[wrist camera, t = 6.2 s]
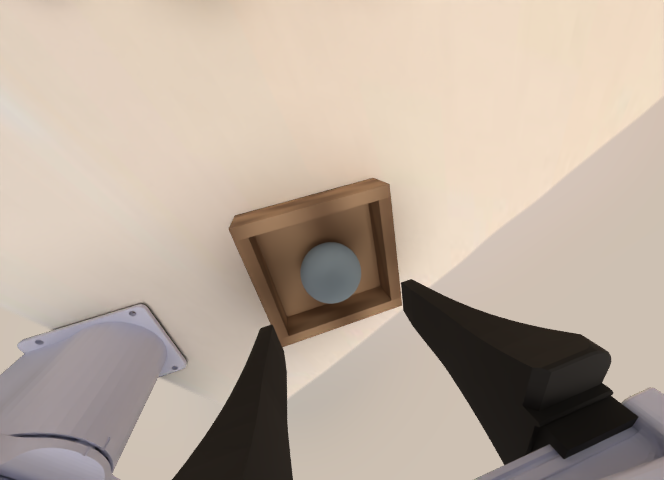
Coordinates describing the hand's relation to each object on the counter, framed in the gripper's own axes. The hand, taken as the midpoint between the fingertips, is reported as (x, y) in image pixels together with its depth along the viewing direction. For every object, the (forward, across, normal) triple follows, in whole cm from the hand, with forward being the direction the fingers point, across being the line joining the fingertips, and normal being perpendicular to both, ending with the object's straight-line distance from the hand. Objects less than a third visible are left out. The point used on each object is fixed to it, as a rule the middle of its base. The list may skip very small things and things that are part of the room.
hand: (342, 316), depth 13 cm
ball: (+9, -1, +2) cm, 9 cm away
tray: (+10, -1, +2) cm, 10 cm away
